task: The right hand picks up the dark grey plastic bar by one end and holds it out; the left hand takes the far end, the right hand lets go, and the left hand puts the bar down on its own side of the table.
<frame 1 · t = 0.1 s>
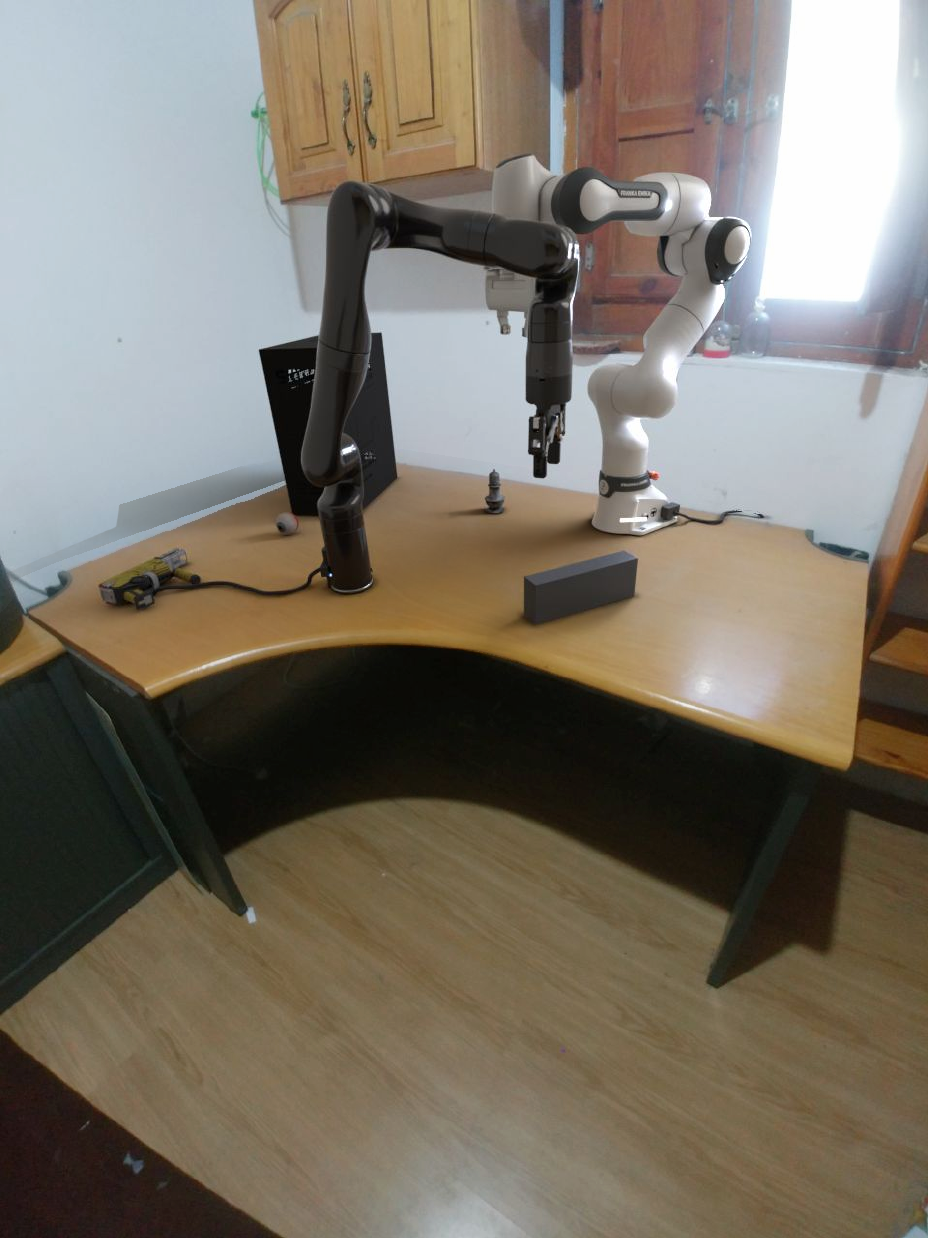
left hand: (546, 470, 105), 29 cm above the table, tool pointing down, fingers open, 8 cm apart
right hand: (516, 335, 125), 48 cm above the table, tool pointing down, fingers open, 8 cm apart
cardboard box: (348, 495, 192), on the table
bar: (580, 605, 123), on the table
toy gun: (166, 587, 140), on the table
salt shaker: (495, 510, 173), on the table
eyeball: (289, 534, 165), on the table
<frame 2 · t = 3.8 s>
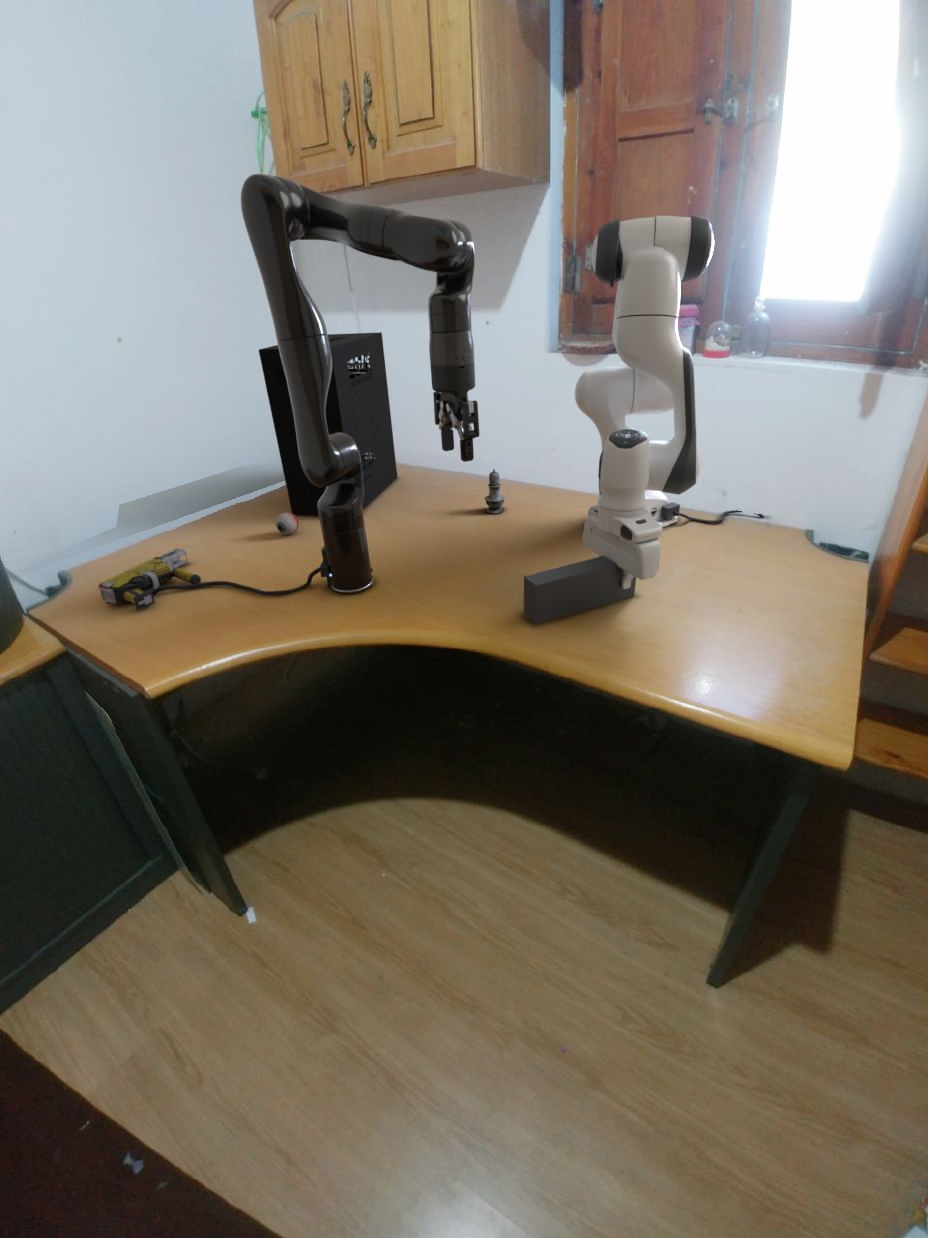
left hand: (457, 455, 110), 31 cm above the table, tool pointing down, fingers open, 8 cm apart
right hand: (615, 581, 124), 3 cm above the table, tool pointing down, fingers closed on bar, 4 cm apart
bar: (580, 605, 123), on the table, touching right hand
everything else where it was.
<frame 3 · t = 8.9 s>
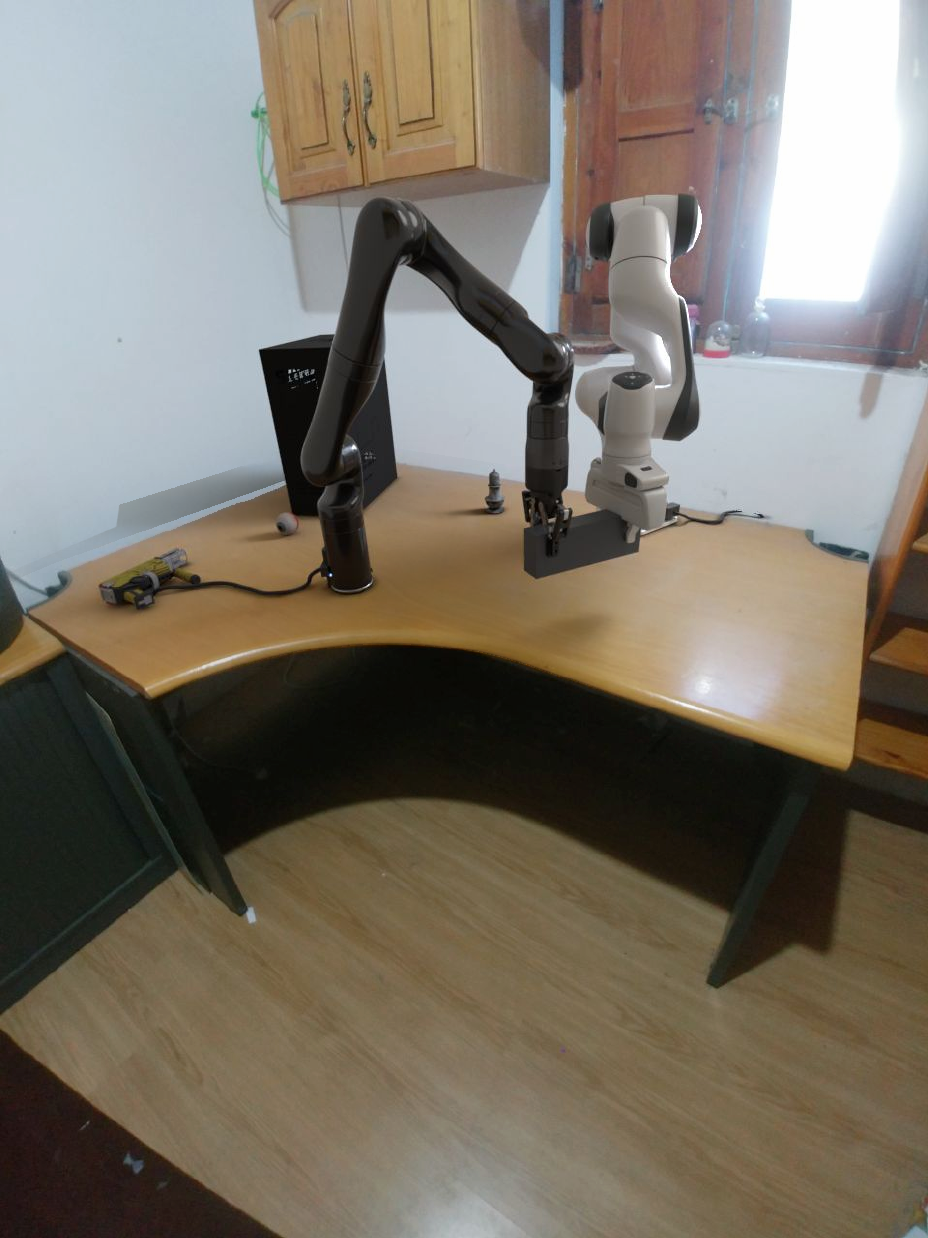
left hand: (545, 551, 113), 14 cm above the table, tool pointing down, fingers closed on bar, 4 cm apart
right hand: (619, 536, 119), 13 cm above the table, tool pointing down, fingers closed on bar, 4 cm apart
bar: (582, 561, 118), point 10 cm above the table, touching right hand, left hand
everything else where it was.
when the right hand's fingers open (13 cm above the table, at t = 9.8 s): bar stays where it is, held by the left hand.
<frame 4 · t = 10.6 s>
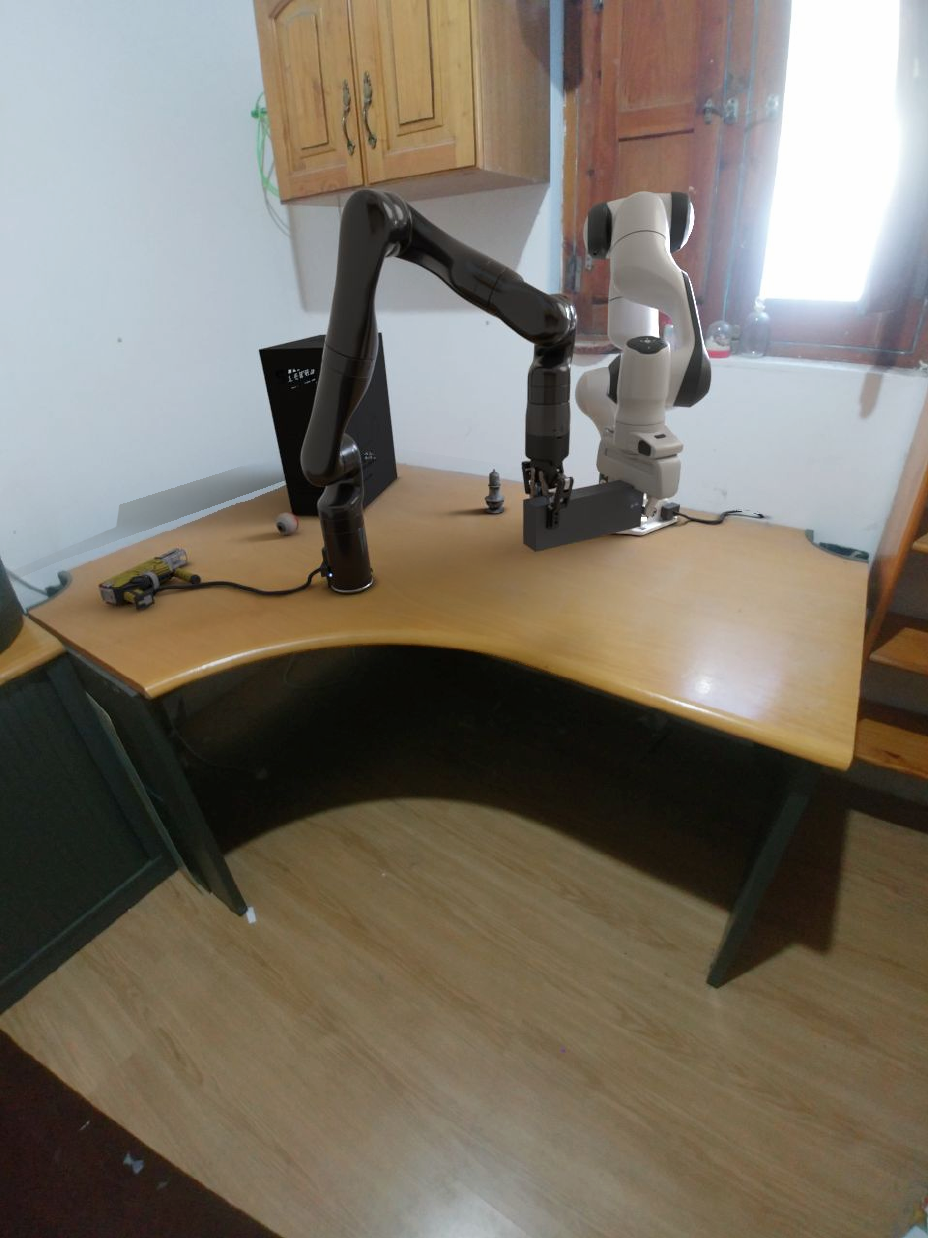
left hand: (545, 523, 110), 19 cm above the table, tool pointing down, fingers closed on bar, 4 cm apart
right hand: (631, 506, 117), 19 cm above the table, tool pointing down, fingers open, 8 cm apart
bar: (582, 535, 115), point 15 cm above the table, touching left hand
everything else where it was.
when the left hand's fingers open (5 cm above the table, at t = 17.2 s): bar drops 1 cm, on the table.
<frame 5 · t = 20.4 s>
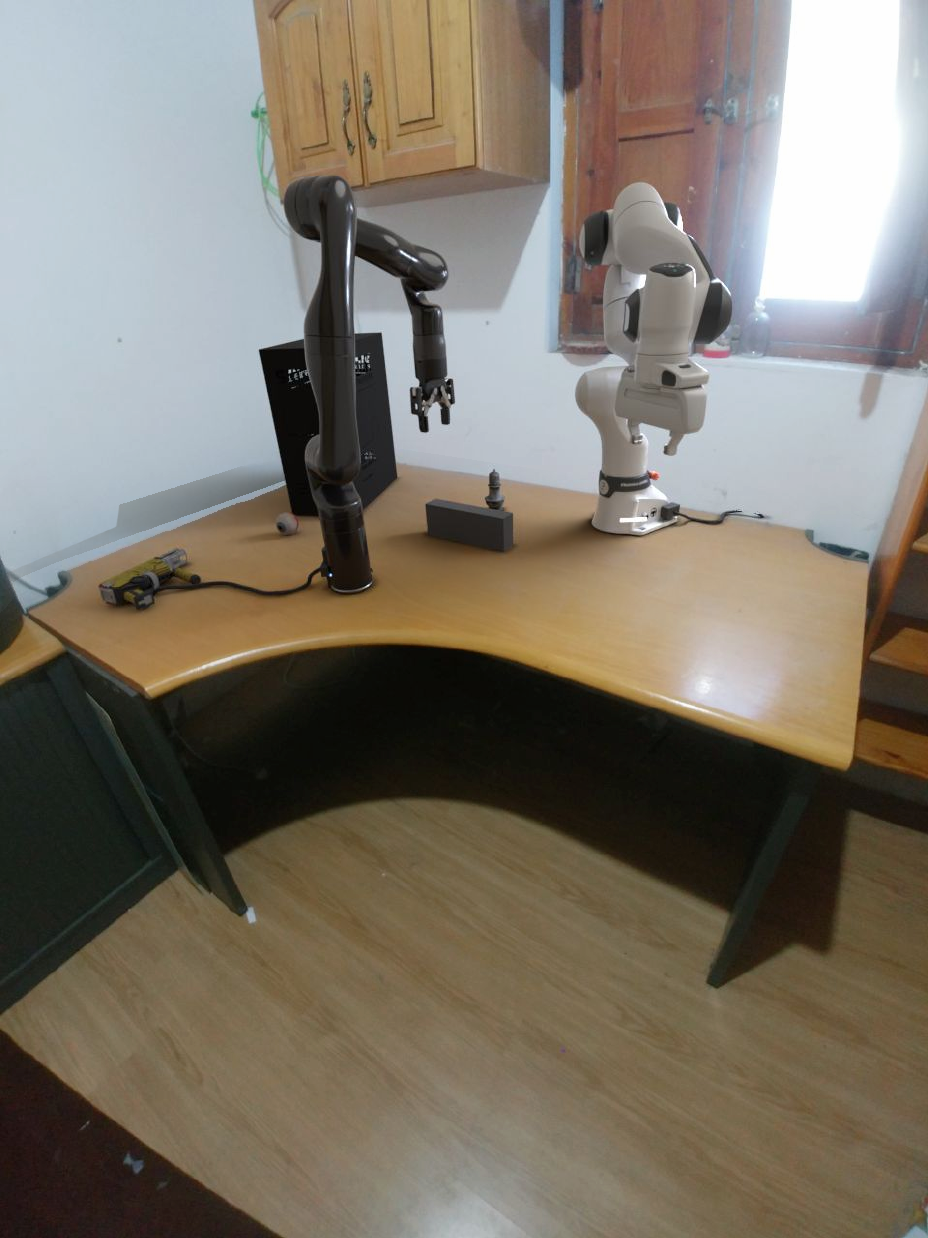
left hand: (435, 428, 146), 27 cm above the table, tool pointing down, fingers open, 8 cm apart
right hand: (652, 449, 113), 29 cm above the table, tool pointing down, fingers open, 8 cm apart
bar: (469, 540, 155), on the table
everything else where it was.
at the end: bar inside the target area (8.5 cm from its centre), on the table; the left hand is holding nothing; the right hand is holding nothing; bar at rest at the end (0.0 cm/s) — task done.
